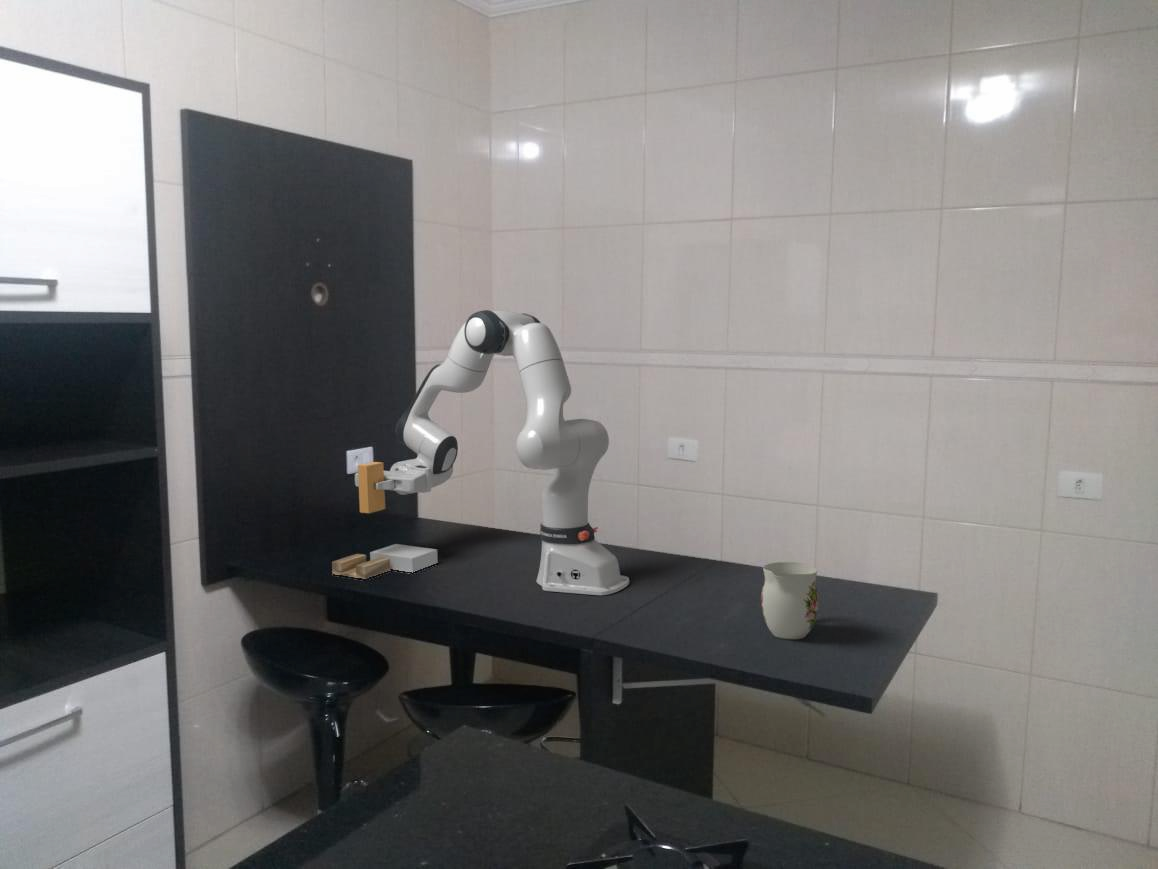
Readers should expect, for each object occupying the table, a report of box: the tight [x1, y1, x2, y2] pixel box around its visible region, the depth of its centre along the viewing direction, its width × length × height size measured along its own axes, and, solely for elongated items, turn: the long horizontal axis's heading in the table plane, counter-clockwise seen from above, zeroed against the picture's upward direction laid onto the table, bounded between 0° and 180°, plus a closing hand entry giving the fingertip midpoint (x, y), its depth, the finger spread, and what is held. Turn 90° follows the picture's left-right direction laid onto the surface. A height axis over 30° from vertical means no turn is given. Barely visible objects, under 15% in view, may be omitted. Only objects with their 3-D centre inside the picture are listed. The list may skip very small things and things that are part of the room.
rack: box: [331, 553, 391, 579], centre depth 221 cm, size 11×9×4 cm
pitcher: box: [760, 561, 819, 640], centre depth 173 cm, size 11×18×14 cm, turn 152°
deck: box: [369, 543, 439, 573], centre depth 228 cm, size 14×10×4 cm
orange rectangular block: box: [357, 461, 386, 514], centre depth 221 cm, size 3×6×12 cm, turn 150°
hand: (368, 485), depth 220 cm, fingers closed on orange rectangular block, 3 cm apart
